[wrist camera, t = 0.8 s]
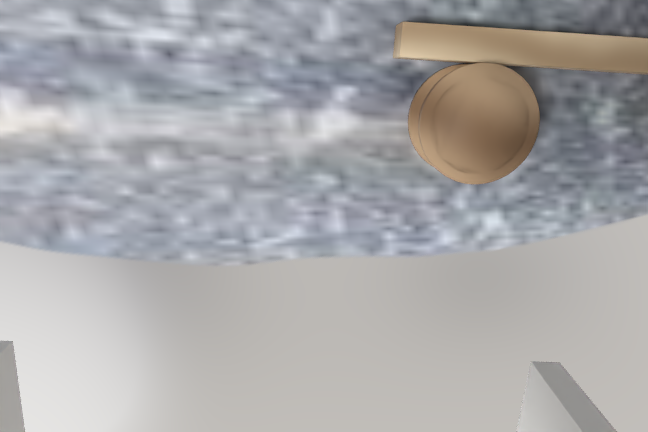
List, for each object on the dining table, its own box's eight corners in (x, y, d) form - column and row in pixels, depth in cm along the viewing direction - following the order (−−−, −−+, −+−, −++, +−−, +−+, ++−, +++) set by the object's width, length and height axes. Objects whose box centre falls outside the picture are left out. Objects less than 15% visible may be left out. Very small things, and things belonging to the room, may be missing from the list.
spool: (413, 60, 33) (427, 58, 29) (521, 67, 33) (549, 66, 30) (402, 169, 35) (414, 181, 31) (504, 174, 35) (528, 187, 32)
